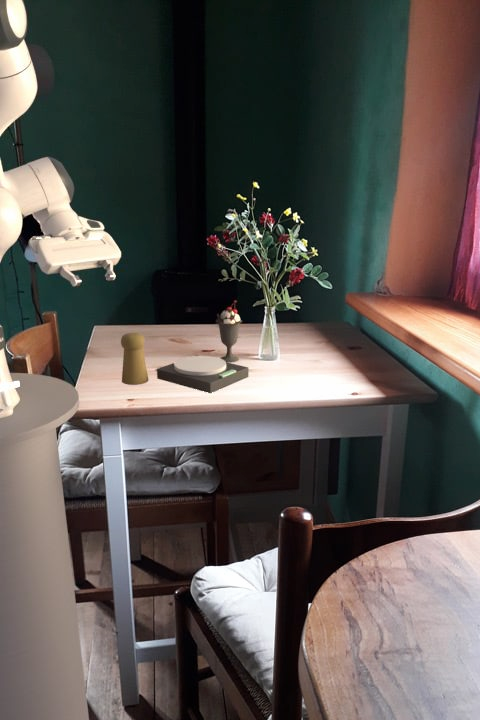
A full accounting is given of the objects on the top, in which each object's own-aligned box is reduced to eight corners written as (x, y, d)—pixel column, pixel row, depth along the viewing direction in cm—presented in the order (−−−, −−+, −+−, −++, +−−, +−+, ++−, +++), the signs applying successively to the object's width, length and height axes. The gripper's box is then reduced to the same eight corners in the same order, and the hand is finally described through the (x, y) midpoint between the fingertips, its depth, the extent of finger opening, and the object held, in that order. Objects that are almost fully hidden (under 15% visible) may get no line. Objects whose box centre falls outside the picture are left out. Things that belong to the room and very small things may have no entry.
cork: (145, 385, 138) (143, 337, 134) (118, 384, 138) (115, 337, 134) (150, 376, 144) (148, 330, 140) (125, 375, 144) (121, 330, 140)
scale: (210, 393, 134) (210, 378, 133) (157, 378, 143) (156, 364, 141) (248, 377, 145) (248, 363, 144) (196, 364, 153) (196, 350, 152)
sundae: (246, 357, 159) (246, 299, 154) (236, 364, 153) (236, 305, 148) (222, 354, 161) (222, 297, 156) (212, 361, 155) (211, 302, 150)
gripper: (29, 227, 133) (59, 279, 131) (107, 221, 148) (135, 267, 146) (21, 246, 138) (50, 296, 136) (97, 239, 152) (125, 284, 150)
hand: (95, 281), depth 141 cm, fingers open, 8 cm apart
